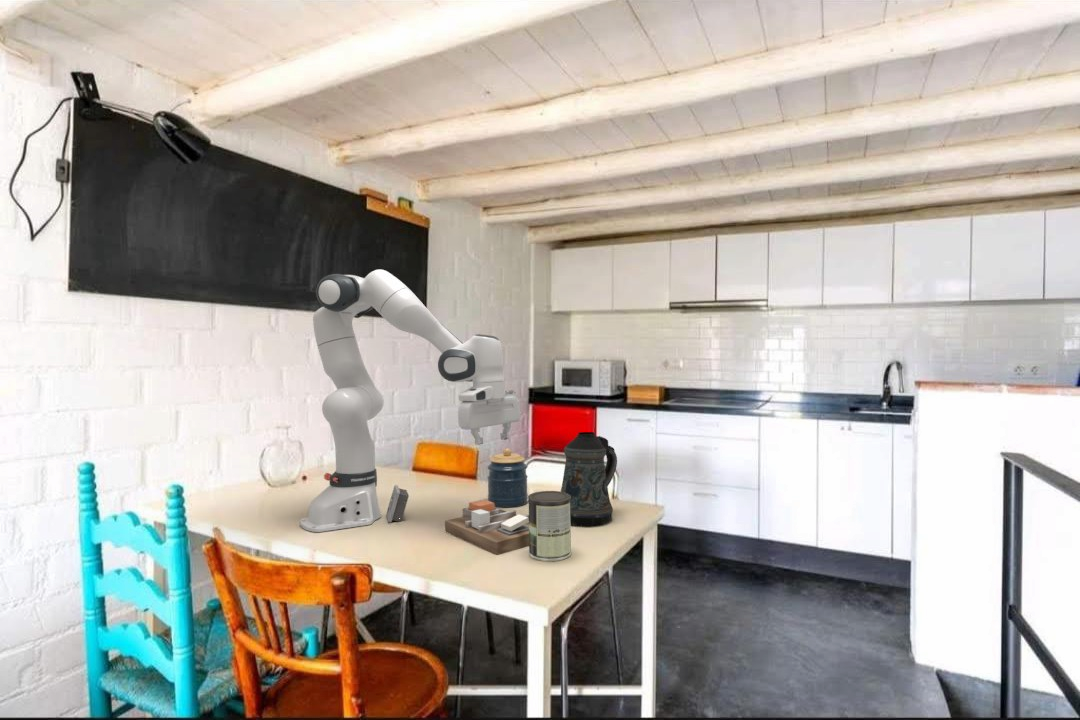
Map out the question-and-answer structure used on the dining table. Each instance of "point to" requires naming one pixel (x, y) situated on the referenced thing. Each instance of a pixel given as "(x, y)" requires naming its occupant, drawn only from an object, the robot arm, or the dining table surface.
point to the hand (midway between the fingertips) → (492, 441)
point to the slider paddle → (480, 518)
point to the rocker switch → (514, 522)
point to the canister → (507, 480)
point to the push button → (481, 505)
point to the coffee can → (549, 525)
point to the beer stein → (589, 479)
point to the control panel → (490, 531)
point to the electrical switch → (397, 504)
